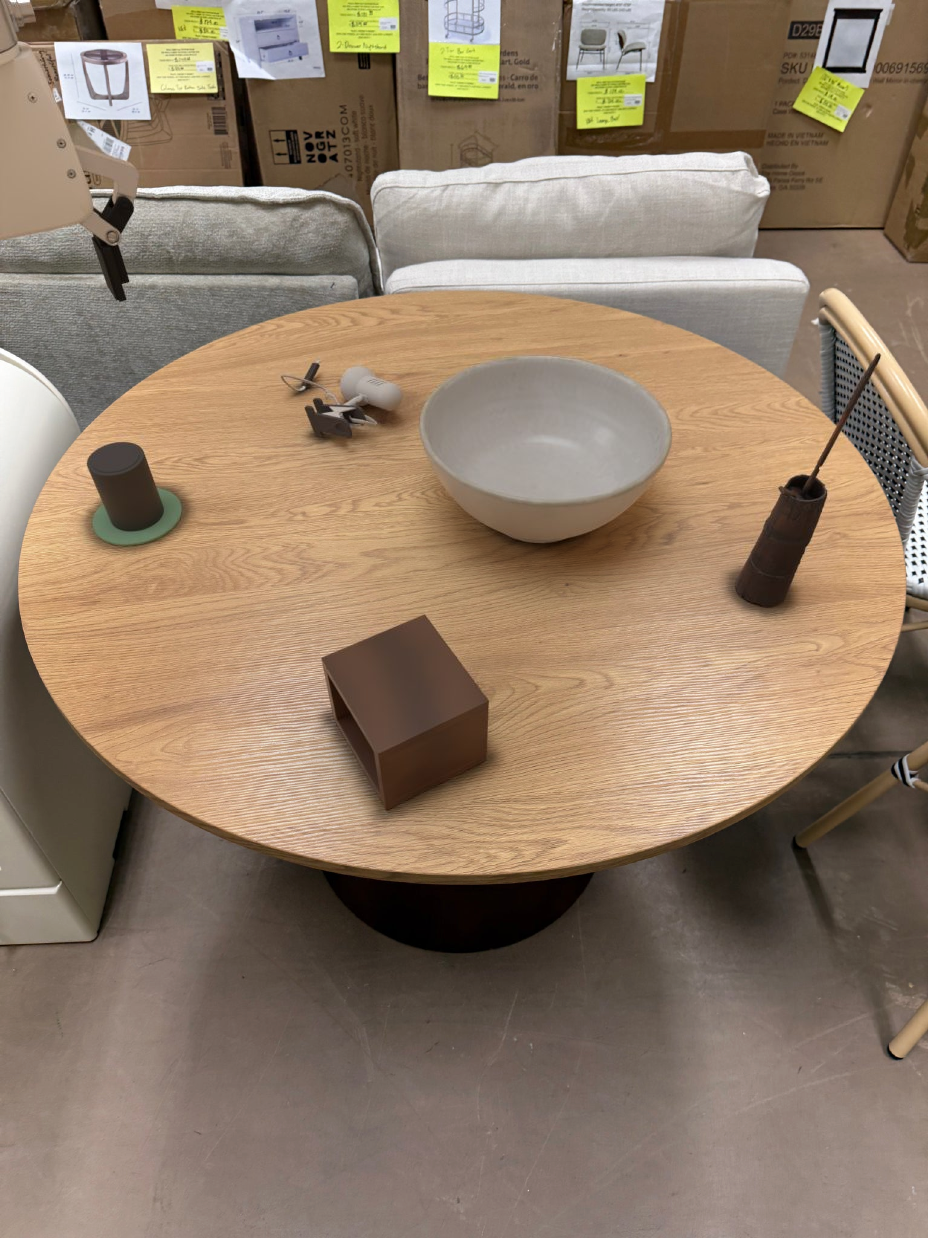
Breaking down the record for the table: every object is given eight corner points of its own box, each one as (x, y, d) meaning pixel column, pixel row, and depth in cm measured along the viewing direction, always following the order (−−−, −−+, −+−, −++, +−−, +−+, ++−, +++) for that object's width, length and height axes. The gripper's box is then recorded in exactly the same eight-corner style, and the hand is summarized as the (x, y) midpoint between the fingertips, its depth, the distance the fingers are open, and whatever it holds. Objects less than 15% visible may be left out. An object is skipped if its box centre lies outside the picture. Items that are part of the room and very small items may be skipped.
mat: (105, 557, 90) (104, 555, 90) (84, 506, 96) (83, 504, 95) (193, 527, 93) (192, 525, 93) (168, 479, 99) (167, 477, 99)
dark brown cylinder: (118, 538, 91) (93, 481, 85) (104, 508, 95) (80, 451, 89) (170, 520, 93) (150, 463, 87) (155, 491, 97) (135, 435, 91)
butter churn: (716, 626, 83) (801, 385, 62) (700, 561, 89) (772, 323, 69) (806, 628, 83) (922, 387, 62) (784, 562, 89) (881, 324, 68)
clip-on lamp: (273, 419, 112) (348, 452, 101) (255, 377, 108) (331, 407, 97) (339, 380, 117) (418, 407, 105) (325, 338, 113) (404, 362, 101)
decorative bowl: (482, 419, 107) (484, 334, 98) (680, 475, 100) (702, 388, 91) (381, 543, 91) (372, 455, 82) (607, 622, 83) (624, 534, 74)
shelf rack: (386, 811, 69) (378, 753, 62) (333, 718, 75) (320, 657, 69) (486, 760, 72) (489, 700, 66) (428, 676, 79) (424, 613, 72)
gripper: (79, -2, 52) (153, 263, 65) (-232, 33, 46) (-83, 316, 59) (109, 24, 48) (182, 302, 61) (-229, 65, 42) (-70, 364, 55)
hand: (51, 309), depth 60 cm, fingers open, 9 cm apart
